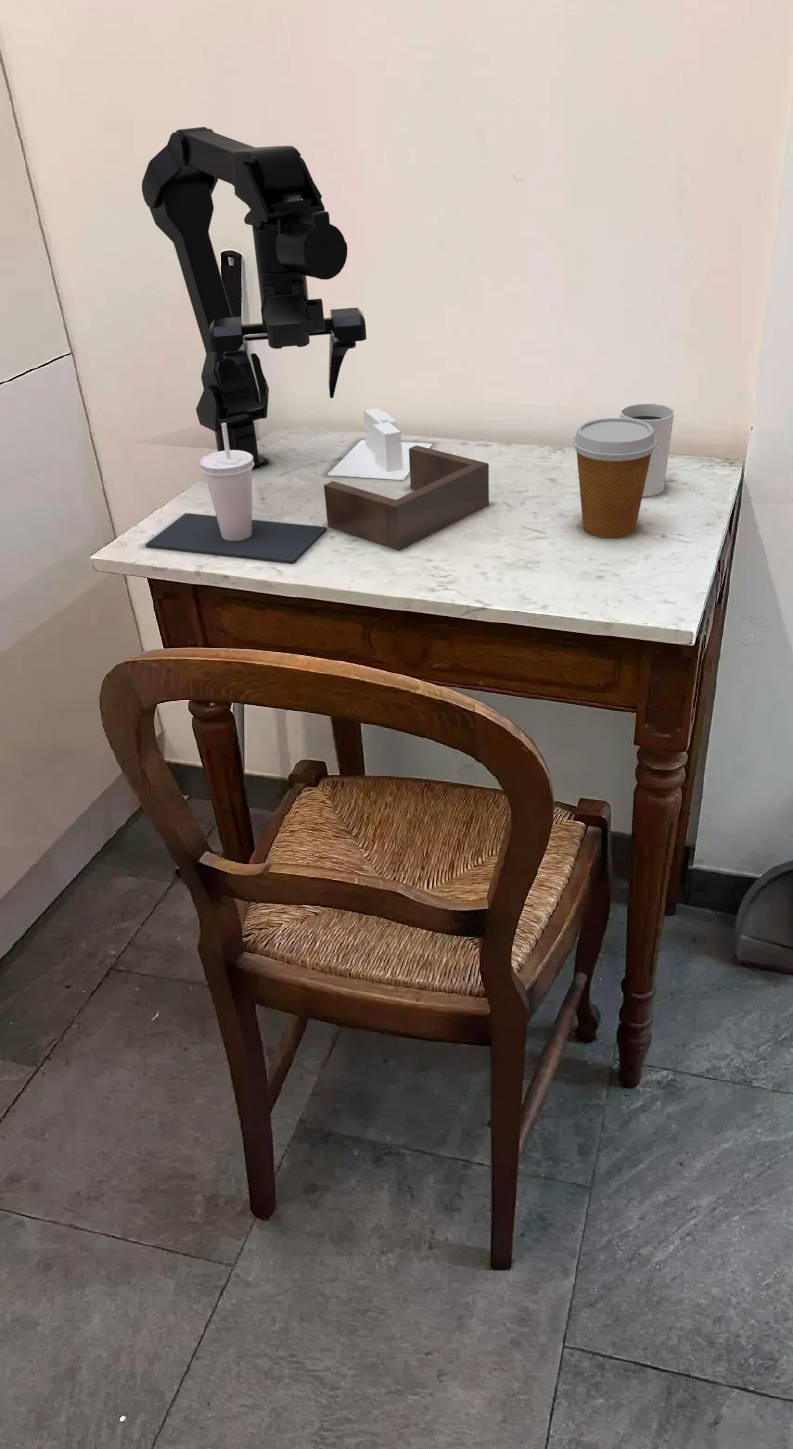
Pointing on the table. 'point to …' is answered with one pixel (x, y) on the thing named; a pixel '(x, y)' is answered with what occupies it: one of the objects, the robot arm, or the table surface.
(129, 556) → the table surface
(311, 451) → the table surface
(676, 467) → the table surface
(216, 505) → the smoothie
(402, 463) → the napkin holder
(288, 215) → the robot arm
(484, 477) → the frame
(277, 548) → the mat
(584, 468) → the disposable coffee cup
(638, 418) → the white paper cup
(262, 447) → the table surface
